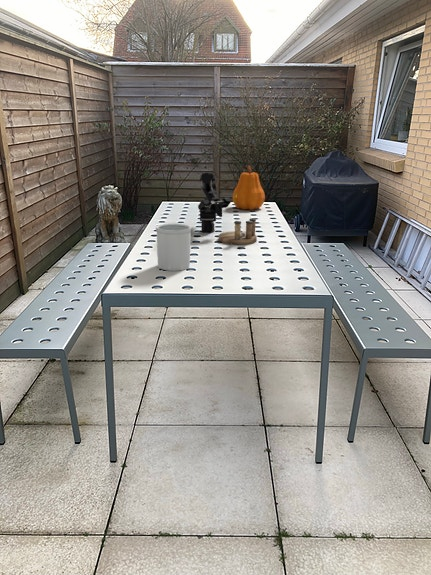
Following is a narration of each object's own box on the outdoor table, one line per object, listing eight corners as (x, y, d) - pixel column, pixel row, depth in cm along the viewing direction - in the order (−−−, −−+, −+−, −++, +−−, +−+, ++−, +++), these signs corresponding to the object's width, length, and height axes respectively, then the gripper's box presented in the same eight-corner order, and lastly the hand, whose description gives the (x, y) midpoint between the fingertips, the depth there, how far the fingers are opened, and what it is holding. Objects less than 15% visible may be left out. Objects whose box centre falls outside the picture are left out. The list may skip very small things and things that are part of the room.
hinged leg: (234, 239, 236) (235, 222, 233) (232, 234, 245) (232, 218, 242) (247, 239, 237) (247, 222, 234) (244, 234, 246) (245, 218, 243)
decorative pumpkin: (228, 205, 345) (229, 164, 335) (259, 205, 350) (261, 164, 339) (235, 211, 324) (236, 167, 314) (268, 210, 328) (270, 167, 318)
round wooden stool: (211, 238, 249) (211, 217, 245) (240, 234, 260) (241, 214, 256) (234, 246, 233) (234, 224, 230) (264, 241, 244) (265, 220, 241)
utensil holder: (173, 259, 211) (173, 221, 205) (198, 265, 202) (198, 226, 196) (149, 266, 200) (148, 226, 194) (174, 273, 191) (173, 232, 185)
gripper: (216, 201, 262) (228, 223, 257) (189, 203, 251) (200, 227, 246) (225, 188, 253) (237, 211, 248) (197, 190, 242) (209, 215, 238)
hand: (221, 216), depth 245 cm, fingers closed
